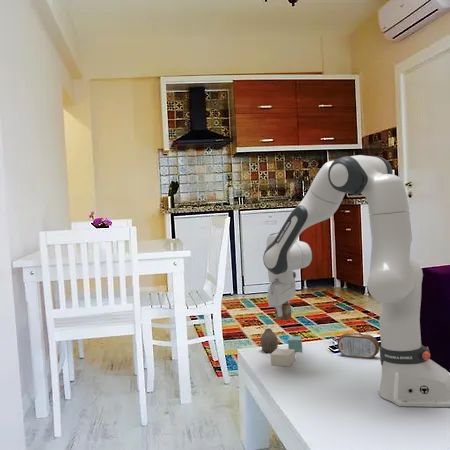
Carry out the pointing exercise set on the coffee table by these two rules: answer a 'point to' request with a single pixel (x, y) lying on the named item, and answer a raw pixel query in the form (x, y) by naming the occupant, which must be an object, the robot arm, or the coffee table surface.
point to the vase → (269, 341)
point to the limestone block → (282, 357)
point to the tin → (358, 345)
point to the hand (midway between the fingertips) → (283, 314)
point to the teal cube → (295, 343)
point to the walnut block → (284, 312)
